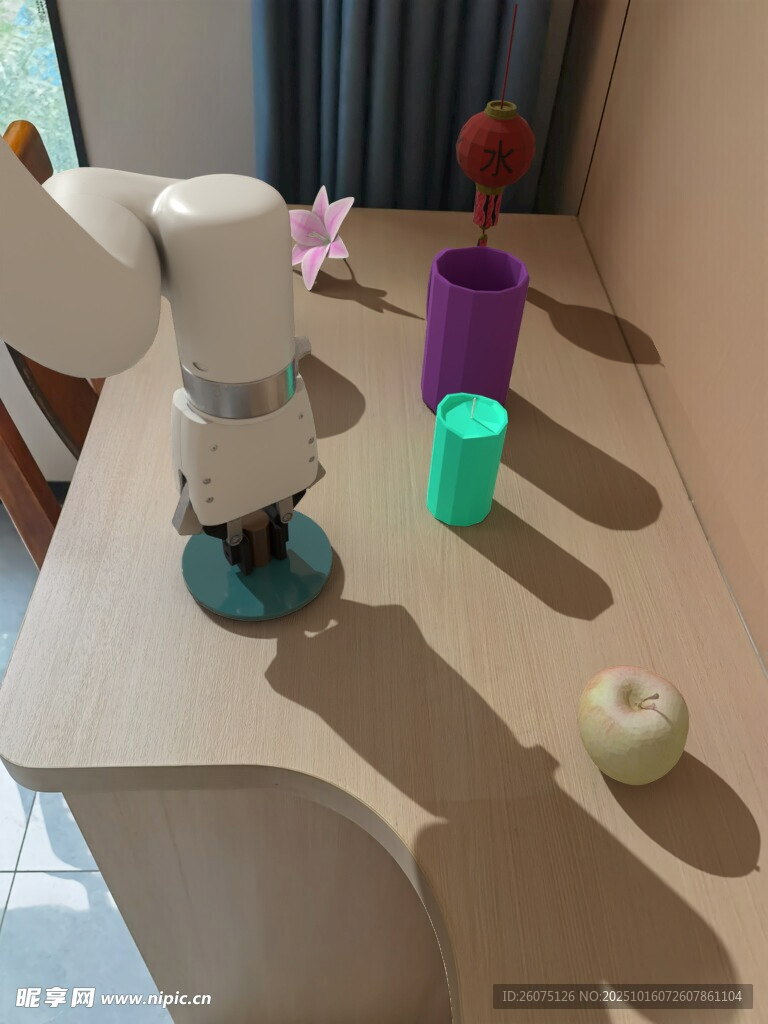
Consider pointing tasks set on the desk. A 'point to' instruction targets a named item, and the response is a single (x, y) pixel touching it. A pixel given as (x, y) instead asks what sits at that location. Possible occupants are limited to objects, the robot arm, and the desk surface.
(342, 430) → the desk surface
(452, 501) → the candle
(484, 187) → the lantern
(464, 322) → the mug
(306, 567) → the lid
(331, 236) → the lily
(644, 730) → the fruit
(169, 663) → the desk surface
